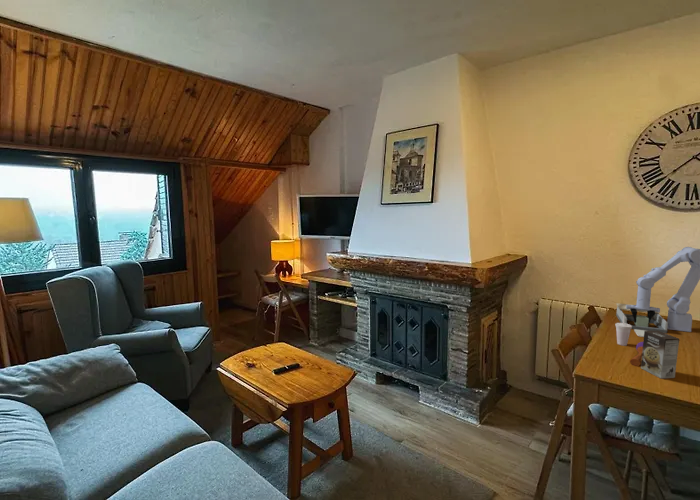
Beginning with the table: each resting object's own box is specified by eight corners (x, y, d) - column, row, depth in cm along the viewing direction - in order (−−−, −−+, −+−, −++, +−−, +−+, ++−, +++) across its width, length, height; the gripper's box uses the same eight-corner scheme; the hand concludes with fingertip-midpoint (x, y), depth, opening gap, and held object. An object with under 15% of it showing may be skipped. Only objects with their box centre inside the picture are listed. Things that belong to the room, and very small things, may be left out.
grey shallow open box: (654, 319, 208) (655, 310, 207) (667, 333, 186) (668, 322, 186) (616, 315, 217) (616, 306, 216) (624, 327, 195) (624, 318, 194)
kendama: (625, 354, 152) (636, 339, 165) (627, 368, 152) (639, 351, 165) (642, 356, 147) (653, 340, 160) (645, 370, 148) (655, 353, 160)
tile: (658, 333, 186) (658, 332, 186) (663, 339, 178) (663, 338, 178) (634, 330, 191) (634, 329, 191) (638, 336, 182) (638, 335, 182)
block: (645, 324, 199) (646, 316, 199) (647, 327, 195) (648, 318, 194) (634, 323, 202) (635, 314, 201) (636, 326, 197) (637, 317, 197)
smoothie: (628, 342, 174) (630, 314, 173) (632, 347, 169) (634, 318, 167) (612, 340, 177) (614, 313, 175) (615, 345, 171) (617, 317, 170)
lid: (653, 307, 211) (653, 303, 211) (659, 313, 200) (659, 309, 199) (616, 304, 219) (616, 300, 219) (620, 309, 208) (620, 305, 208)
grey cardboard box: (639, 368, 148) (643, 330, 146) (654, 367, 148) (657, 329, 146) (660, 378, 139) (664, 338, 137) (676, 378, 139) (680, 338, 137)
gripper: (658, 298, 197) (656, 322, 198) (625, 295, 203) (623, 319, 205) (662, 301, 190) (659, 326, 192) (628, 298, 197) (626, 322, 199)
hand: (641, 322), depth 198 cm, fingers closed on block, 5 cm apart
